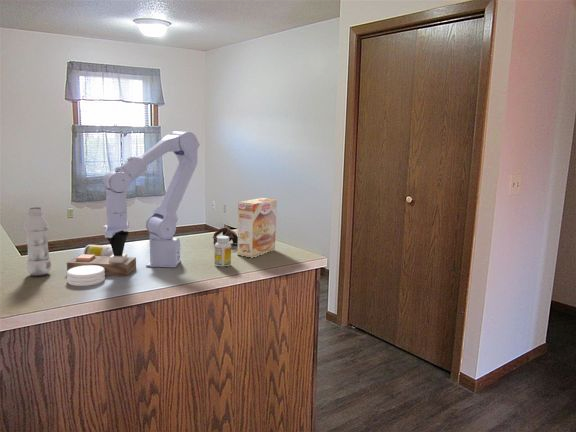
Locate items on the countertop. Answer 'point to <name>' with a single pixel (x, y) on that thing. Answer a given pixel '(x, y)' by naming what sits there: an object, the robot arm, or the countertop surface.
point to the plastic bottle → (37, 242)
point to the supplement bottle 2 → (222, 251)
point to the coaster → (85, 275)
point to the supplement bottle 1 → (98, 250)
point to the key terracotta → (85, 258)
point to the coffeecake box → (256, 226)
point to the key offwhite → (118, 258)
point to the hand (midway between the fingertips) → (118, 255)
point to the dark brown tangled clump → (226, 232)
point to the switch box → (108, 265)
